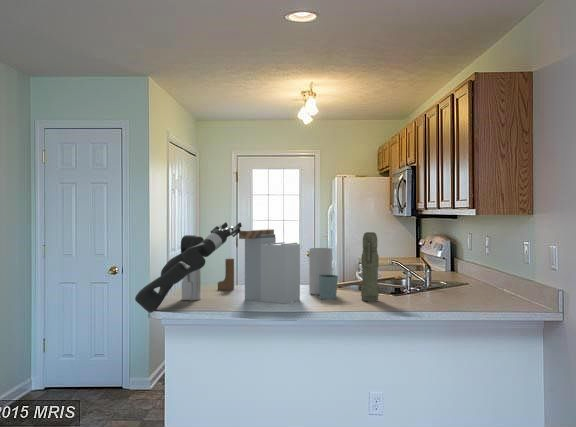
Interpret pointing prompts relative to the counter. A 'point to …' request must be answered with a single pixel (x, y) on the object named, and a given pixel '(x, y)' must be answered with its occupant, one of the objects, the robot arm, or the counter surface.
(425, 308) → the counter surface
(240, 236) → the walnut bar
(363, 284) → the thermos
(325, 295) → the teal cup
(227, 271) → the wooden block
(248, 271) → the stand
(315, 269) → the cylinder vase
